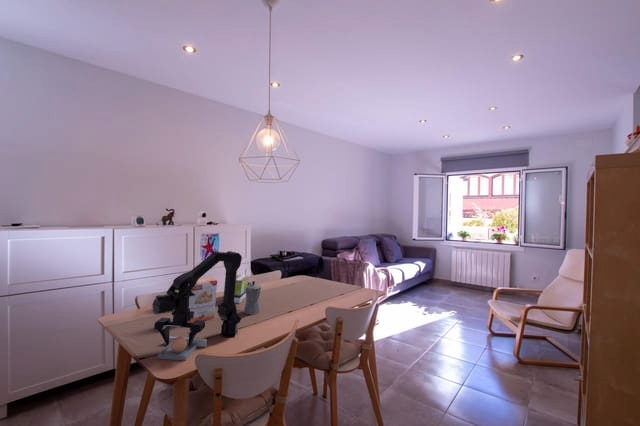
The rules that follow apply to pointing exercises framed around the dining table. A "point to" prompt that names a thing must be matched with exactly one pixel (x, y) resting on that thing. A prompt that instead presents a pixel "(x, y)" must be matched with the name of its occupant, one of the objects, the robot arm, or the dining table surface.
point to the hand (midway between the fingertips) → (178, 345)
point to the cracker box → (203, 299)
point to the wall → (197, 341)
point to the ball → (178, 344)
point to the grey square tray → (183, 355)
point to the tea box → (240, 287)
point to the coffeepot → (252, 298)
